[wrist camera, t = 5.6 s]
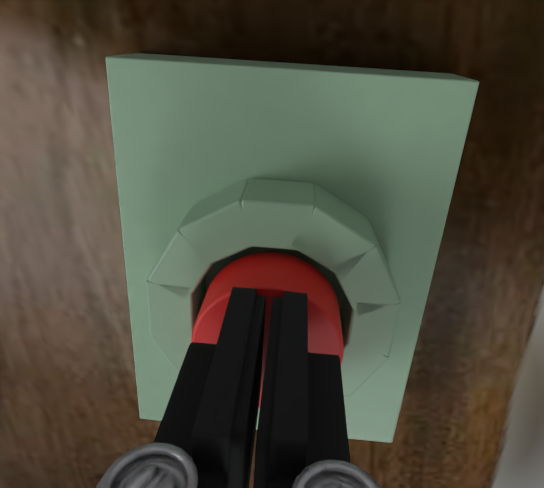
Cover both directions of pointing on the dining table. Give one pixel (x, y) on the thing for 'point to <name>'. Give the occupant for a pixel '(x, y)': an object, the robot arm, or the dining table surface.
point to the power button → (271, 283)
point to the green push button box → (285, 202)
